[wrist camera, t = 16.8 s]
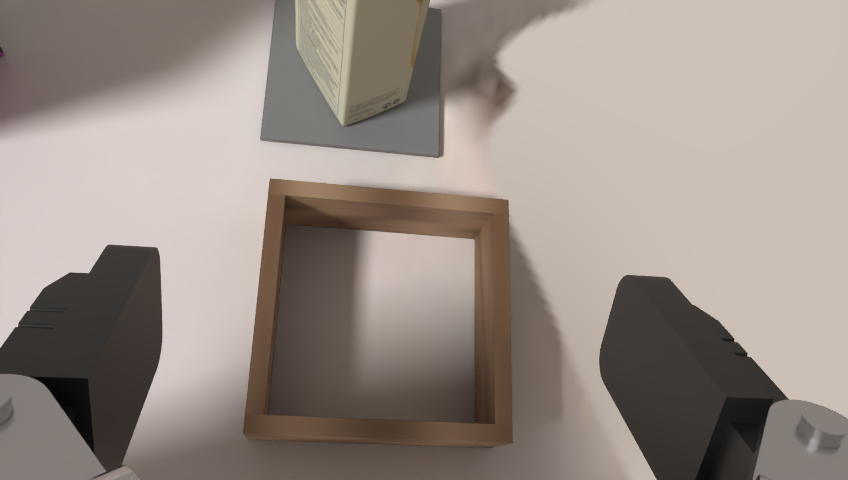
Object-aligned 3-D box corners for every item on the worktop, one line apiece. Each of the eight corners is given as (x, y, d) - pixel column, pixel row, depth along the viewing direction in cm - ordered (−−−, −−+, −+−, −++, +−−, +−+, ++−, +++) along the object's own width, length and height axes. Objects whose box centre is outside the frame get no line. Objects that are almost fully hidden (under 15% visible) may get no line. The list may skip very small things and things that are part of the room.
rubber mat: (260, 140, 40) (260, 137, 39) (277, -9, 43) (277, -12, 43) (437, 157, 41) (438, 155, 41) (440, 12, 45) (441, 9, 44)
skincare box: (407, 103, 42) (450, -43, 30) (341, 130, 40) (359, -11, 29) (356, 16, 43) (379, -154, 32) (290, 40, 42) (289, -129, 30)
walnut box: (248, 439, 35) (243, 432, 31) (272, 208, 39) (269, 178, 35) (490, 447, 36) (512, 442, 33) (488, 226, 40) (508, 200, 37)
